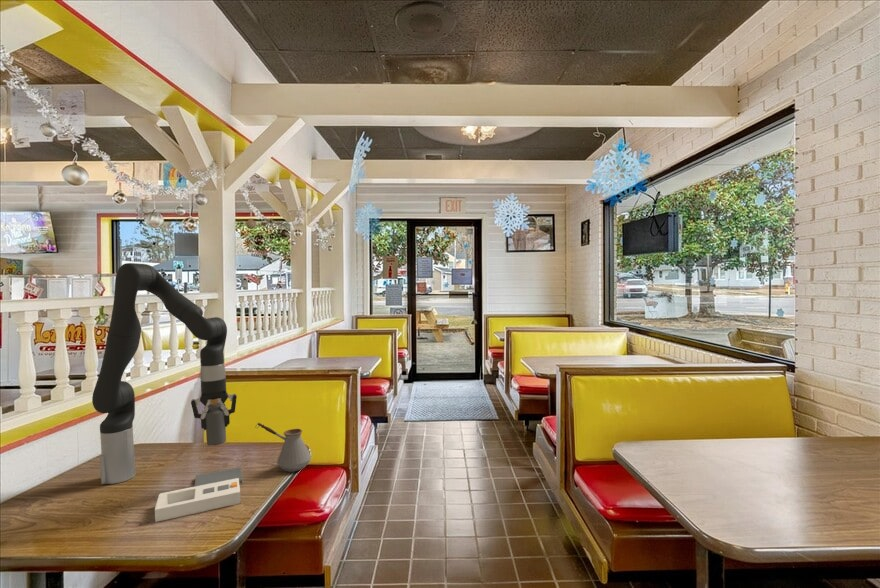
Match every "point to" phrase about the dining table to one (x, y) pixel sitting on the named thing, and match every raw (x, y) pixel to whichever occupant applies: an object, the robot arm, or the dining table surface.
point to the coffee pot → (291, 450)
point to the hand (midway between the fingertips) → (215, 427)
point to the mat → (218, 476)
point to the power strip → (197, 499)
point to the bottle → (215, 424)
